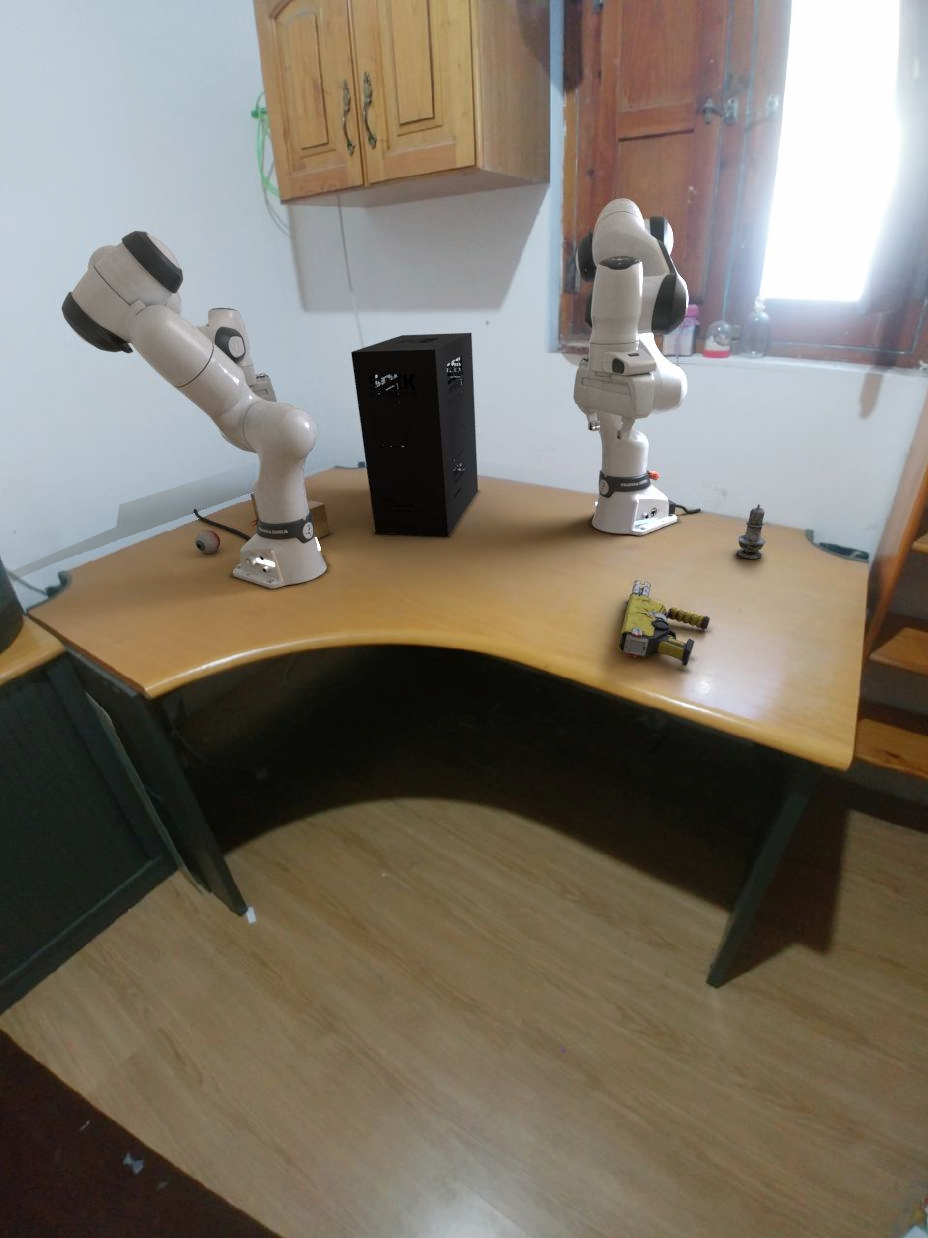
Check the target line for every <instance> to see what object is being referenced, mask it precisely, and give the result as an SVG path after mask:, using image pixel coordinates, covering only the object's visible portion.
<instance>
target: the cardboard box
mask: <svg viewBox="0 0 928 1238" xmlns="http://www.w3.org/2000/svg"><path fill="white" fill-rule="evenodd" d="M472 334H473V333H472V332H455V333H453V332H452V333H429V334H427V333H424V334H423V333H422V334H402V335H399V336H396V337H392V338H389V339H386V340H383V341H380V342H378V343H374V344H370V345H368V346H365V347H362V348H360V349H356V350H353V351H350V355H351V361H352V363H351V364H352V370H353V376H354V383H355V384H354V385H355V391H356V393H355V394H356V398H357V407H358V415H359V422H360V429H361V437H362V443H363V445H362V446H363V452H364V459H365V466H366V467H365V468H366V474H367V482H368V488H369V489H368V490H369V496H370V504H371V512H372V519H373V527H374V533H375V534H377V535H378V534H379V535H381V534H382V535H400V536H401V535H404V536H424V537H425V536H426V537H427V536H428V537H446V538H447V537H449V536H450V535H451V533H452V532H453V530H454V528H455V527H456V526H457V524H458V522H459V521H460V519H461V517H463V516H462V515H464V513H465V511H466V510H467V509H468V507H469V505H470V504H471V502H472V501H473V499H474V497H475V496H476V495H477V493H478V491H479V482H478V481H479V479H478V458H477V435H476V432H477V431H476V409H475V408H476V407H475V385H474V382H475V381H474V361H473V336H472Z"/></svg>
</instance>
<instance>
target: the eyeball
mask: <svg viewBox="0 0 928 1238" xmlns="http://www.w3.org/2000/svg"><path fill="white" fill-rule="evenodd" d="M194 543H195V546H196V548H197V549H198V550H199V551H200V552H201V553H204V554H212V553H215V552H217V550H219V548H220V547H221V537H220V536H219V534H218V533H217V532H215V531H214V530H212V529H202V530H201V531H199V532H198V533H197V534H196V536H195V538H194Z"/></svg>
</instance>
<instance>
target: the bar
mask: <svg viewBox="0 0 928 1238" xmlns="http://www.w3.org/2000/svg"><path fill="white" fill-rule="evenodd" d="M250 498H251V499H250V500H251V502H252V508H253V511H254V515H255V520H256V519H258V517H259V514H258V510H257V505H256V501H255V496H254V492H252V493H250ZM307 502H308V508H309V510H310V511H311V514H312V517H313V523H314V535H315V538H317V540H319V539H321V538H323V537H325V536H328V535H330V533H331V532H330V527H329V521H328V515H327V511H326V505H325V503H322V502H320V501H315V500H311V499H308V498H307Z"/></svg>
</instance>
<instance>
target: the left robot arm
mask: <svg viewBox="0 0 928 1238" xmlns="http://www.w3.org/2000/svg"><path fill="white" fill-rule="evenodd" d="M183 282H184V274H183V270H182V268H181V267H180V264H179V262H178V259H177V258H176V256H175V255H174V253H173V251H172V250H171V249H170V248H169V247H168V245H166V244H165V243H164V242H163V241H161V240H160V239H158V238H156V237H155V236H154V235H151V234H150V233H148V232H146V231H143V230H135V231H131V232H129V233H127V234H126V235H124V236H123V237H121V242H120V243H118V244H116V245H113V244H106V245H103V246H100V247H98V248H97V249H96V250H94V251H93V252H92V254H91V255H90V257H89V260H88V263H87V270H86V272H85V273H84V274H83V275H82V277H81V278H80V280H79V281H78V282H77V284H76V285H75V286H74V288H73V290H72V291H68V293H67V294H66V296H65V298H64V300H63V302H62V305H61V308H60V310H61V312H62V315H63V318H64V321H66V323H67V324H68V325H69V327H70V328H71V330H72V331H73V332H74V333H75V334H76V335H77V336H78V337H79V338H80V339H81V340H82V341H84V342H86V343H87V344H89V345H91V346H93V347H94V348H96V349H98V350H100V351H103V352H109V353H119V352H123V353H125V354H132V353H134V350H133V348H134V349H135V351H136V352H137V353H138V354H139V355H140V357H142V359H143V360H144V361H145V362H146V363H147V364H148V365H149V366H150V367H151V368H152V369H153V370H154V371H155V372H156V373H157V374H158V375H159V376H161V378H163V380H165V381H166V382H167V383H168V384H170V385H171V386H172V387H173V388H174V389H176V390H177V391H178V392H179V393H181V394H182V396H184V397H185V398H186V399H188V400H189V401H190V402H192V403H193V404H194V406H196V407H197V408H198V409H200V410H201V411H202V412H203V413H204V414H205V415H207V417H209V418H210V420H211V421H212V422H213V423H214V424H215V426H216V427H217V428H218V431H219V433H220V435H221V437H222V438H223V439H224V440H225V441H226V442H227V443H229V444H231V445H232V446H233V447H235V448H237V449H240V450H241V451H244V452H248V453H254V454H257V456H258V463H259V464H258V466H259V467H258V475H257V477H256V478H255V479H254V481H253V484H252V493H254V496H255V501H256V505H257V510H258V514H259V517H258V519H256V518H255V519H254V520H252V521H251V522H250V523H251V527H253V528H254V527H255V526H256V532H255V534H253V536H252V537H251V536H249V535H248V534H246V533H244V532H242V531H240V530H238V529H236V528H233V527H231V526H227V525H225V524H222V523H219V522H216V521H213V520H210V519H208V518H205V517H203V516H202V515H200V513H199V512H198V510H197V509H196V508H194V509H193V514H194V516H195V517H196V518H197V519H199V520H200V521H203V522H205V523H207V524H209V525H212V526H216V527H218V528H221V529H223V530H227V531H230V532H232V533H235V534H237V535H239V536H241V537H243V539H244V538H245V539H246V540H247V541H246V542H245V543H244V544H243V545H242V547H241V548H240V551H239V562H240V563H239V564H237V565H235V567H234V569H233V570H232V576H233V577H235V578H238V579H241V580H244V581H247V582H250V583H253V584H256V585H259V586H262V587H265V588H267V589H272V590H273V589H274V590H275V589H278V588H282V587H285V586H289V585H296V584H301V583H306V582H309V581H312V580H314V579H316V578H318V577H320V576H322V575H323V574H324V573H325V572H326V571H327V567H328V566H327V563H326V561H325V560H324V557H323V554H322V553H321V546H320V543H319V541H318V540H319V539H317V538H315V535H314V523H313V517H312V514H311V511H310V510H309V508H308V502H307V499H308V497H307V492H306V485H305V467H306V462H307V458H308V456H309V455H310V453H311V452H312V450H313V449H314V448H315V446H316V443H317V438H318V429H317V426H316V422H315V420H314V419H313V417H312V416H311V415H310V414H309V413H308V412H307V411H305V410H303V409H301V408H299V407H298V406H295V405H293V404H291V403H287V402H278V400H277V395H276V391H275V389H274V386H273V385H272V380H271V377H270V376H269V375H268V374H266V373H265V372H263V373H258V374H256V371H255V366H254V365H255V364H254V361H253V359H252V357H251V354H250V349H251V348H250V347H251V346H250V340H249V337H248V333H247V328H246V326H245V322H244V319H243V317H242V314H241V313H240V311H239V310H237V309H234V308H230V307H214V308H211V309H209V310H208V311H207V317H208V318H207V321H208V322H207V323H205V325H197V326H195V325H194V324H192V323H191V322H189V321H188V320H187V319H186V318H184V317H183V316H182V312H183V311H182V310H183V305H182V299H181V296H180V293H179V289H180V287H181V286H182V284H183ZM130 344H131V346H132V347H133V348H132V347H131V346H130Z"/></svg>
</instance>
